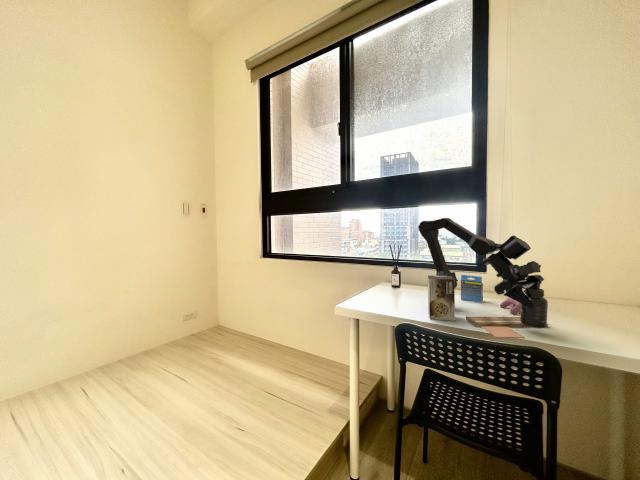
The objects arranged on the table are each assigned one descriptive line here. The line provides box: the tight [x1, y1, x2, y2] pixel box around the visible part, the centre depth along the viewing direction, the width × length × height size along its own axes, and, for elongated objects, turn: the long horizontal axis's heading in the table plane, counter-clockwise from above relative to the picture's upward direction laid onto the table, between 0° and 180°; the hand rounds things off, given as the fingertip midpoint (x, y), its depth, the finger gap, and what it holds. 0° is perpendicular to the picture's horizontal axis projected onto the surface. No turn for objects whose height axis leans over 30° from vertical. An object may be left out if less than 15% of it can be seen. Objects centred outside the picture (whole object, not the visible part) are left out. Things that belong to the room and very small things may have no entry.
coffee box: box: [427, 275, 456, 322], centre depth 101 cm, size 9×6×16 cm
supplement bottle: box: [519, 287, 549, 329], centre depth 85 cm, size 7×7×12 cm
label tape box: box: [460, 274, 484, 304], centre depth 122 cm, size 9×4×12 cm, turn 49°
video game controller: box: [499, 297, 521, 315], centre depth 107 cm, size 10×5×7 cm, turn 169°
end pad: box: [482, 326, 526, 339], centre depth 86 cm, size 9×9×1 cm
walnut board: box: [465, 315, 549, 328], centre depth 94 cm, size 24×7×1 cm, turn 84°
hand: (538, 306), depth 84 cm, fingers closed on supplement bottle, 7 cm apart
